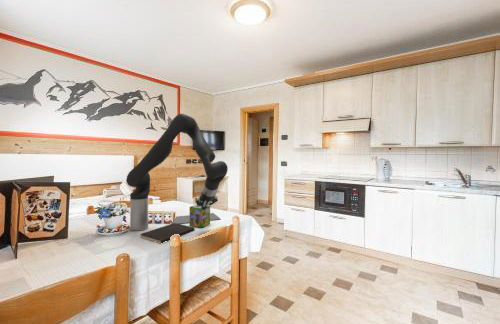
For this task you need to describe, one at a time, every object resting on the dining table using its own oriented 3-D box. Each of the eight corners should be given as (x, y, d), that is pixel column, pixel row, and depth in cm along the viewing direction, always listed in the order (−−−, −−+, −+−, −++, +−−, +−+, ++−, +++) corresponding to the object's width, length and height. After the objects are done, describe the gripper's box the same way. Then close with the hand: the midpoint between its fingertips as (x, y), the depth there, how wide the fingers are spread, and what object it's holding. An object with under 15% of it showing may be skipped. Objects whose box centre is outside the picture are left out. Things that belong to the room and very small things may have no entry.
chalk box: (201, 228, 140) (201, 203, 140) (188, 226, 144) (188, 201, 144) (210, 224, 149) (210, 200, 148) (198, 222, 153) (198, 198, 152)
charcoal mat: (172, 225, 146) (172, 224, 146) (169, 218, 160) (169, 217, 160) (220, 219, 158) (220, 218, 158) (213, 213, 173) (213, 212, 173)
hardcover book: (139, 238, 125) (139, 234, 124) (174, 226, 144) (174, 222, 144) (161, 245, 117) (161, 240, 117) (194, 231, 137) (194, 227, 136)
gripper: (220, 184, 132) (213, 202, 143) (195, 185, 126) (190, 203, 138) (223, 195, 127) (216, 213, 139) (198, 197, 122) (192, 215, 133)
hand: (203, 208), depth 138 cm, fingers closed
